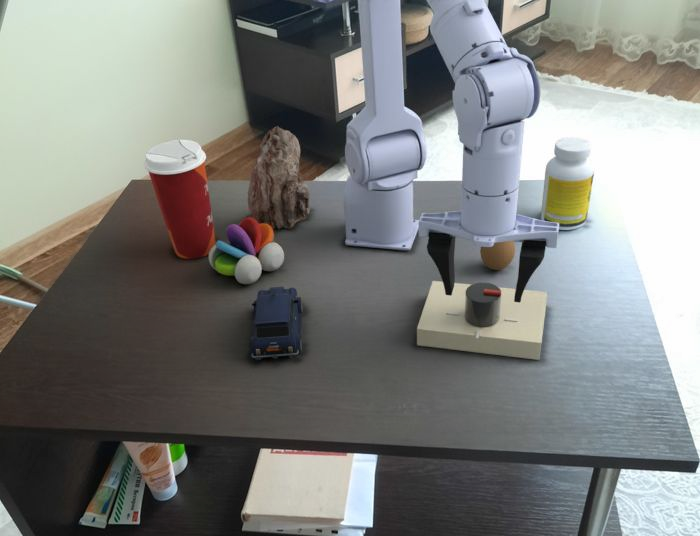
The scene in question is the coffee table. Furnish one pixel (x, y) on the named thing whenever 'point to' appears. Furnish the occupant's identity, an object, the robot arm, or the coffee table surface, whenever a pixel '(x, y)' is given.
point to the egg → (498, 255)
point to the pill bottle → (568, 184)
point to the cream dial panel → (499, 339)
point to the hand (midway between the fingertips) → (483, 293)
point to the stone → (278, 182)
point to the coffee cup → (183, 195)
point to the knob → (482, 304)
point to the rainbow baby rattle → (247, 251)
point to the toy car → (276, 323)
